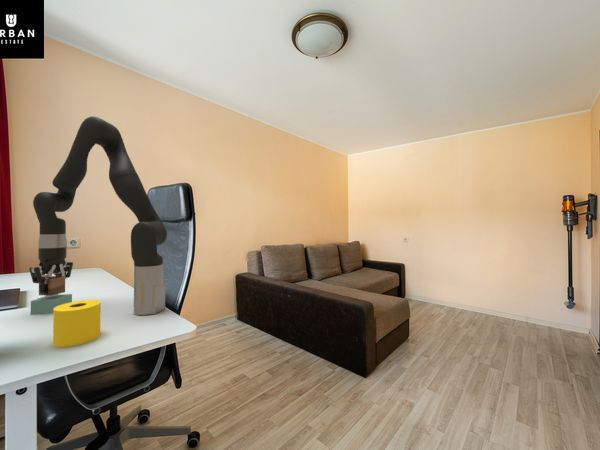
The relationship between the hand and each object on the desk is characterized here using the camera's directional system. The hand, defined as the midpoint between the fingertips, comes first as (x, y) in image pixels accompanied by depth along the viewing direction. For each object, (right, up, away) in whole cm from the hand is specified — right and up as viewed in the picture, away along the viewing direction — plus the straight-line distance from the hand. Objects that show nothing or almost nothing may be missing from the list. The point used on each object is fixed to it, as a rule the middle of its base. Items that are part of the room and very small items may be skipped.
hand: (52, 291), depth 95 cm
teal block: (0, -7, 0) cm, 7 cm away
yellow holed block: (+29, -7, -23) cm, 38 cm away
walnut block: (0, -1, 0) cm, 1 cm away
